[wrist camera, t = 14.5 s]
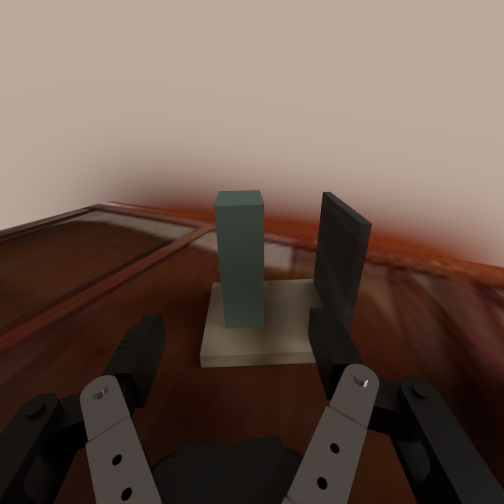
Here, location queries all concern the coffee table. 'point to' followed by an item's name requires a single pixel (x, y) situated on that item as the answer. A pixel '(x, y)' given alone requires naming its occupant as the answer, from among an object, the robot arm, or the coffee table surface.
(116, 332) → the coffee table surface
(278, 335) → the desktop book rack
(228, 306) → the tall sage green prism
